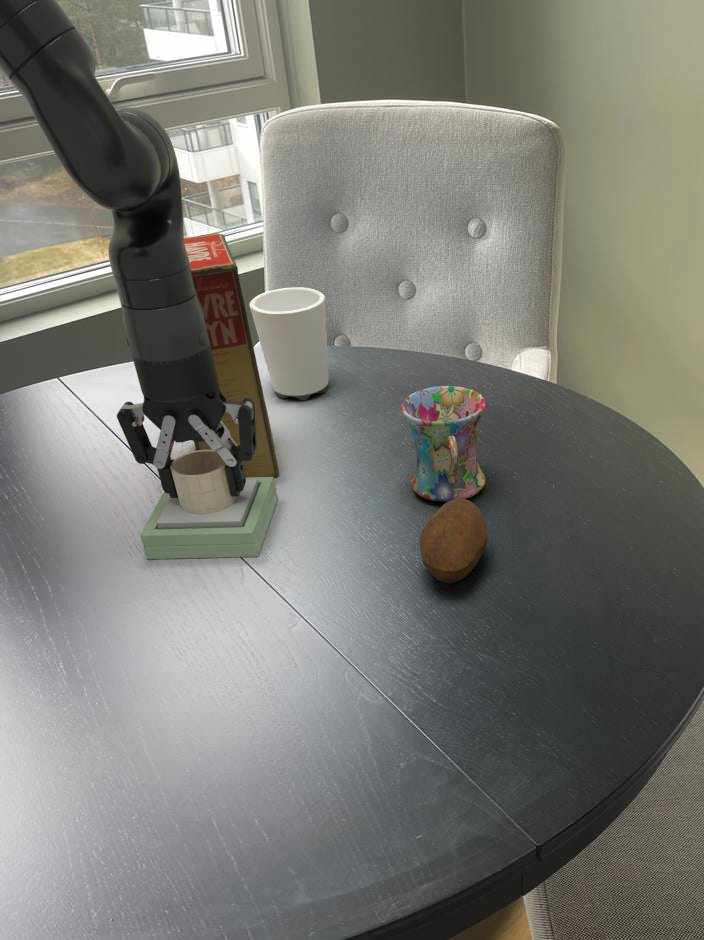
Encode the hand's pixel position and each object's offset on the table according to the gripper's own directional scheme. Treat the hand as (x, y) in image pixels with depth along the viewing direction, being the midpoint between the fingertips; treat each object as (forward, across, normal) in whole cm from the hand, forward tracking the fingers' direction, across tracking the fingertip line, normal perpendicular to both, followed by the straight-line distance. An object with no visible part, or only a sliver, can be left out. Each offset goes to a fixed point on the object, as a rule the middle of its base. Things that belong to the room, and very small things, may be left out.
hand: (206, 493), depth 105 cm
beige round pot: (+1, 0, 0) cm, 1 cm away
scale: (+4, 0, 0) cm, 4 cm away
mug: (+5, -26, -6) cm, 27 cm away
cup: (+5, -4, -36) cm, 37 cm away
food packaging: (+5, +1, -16) cm, 17 cm away
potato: (+5, -27, +9) cm, 29 cm away
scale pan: (+2, 0, 0) cm, 2 cm away
